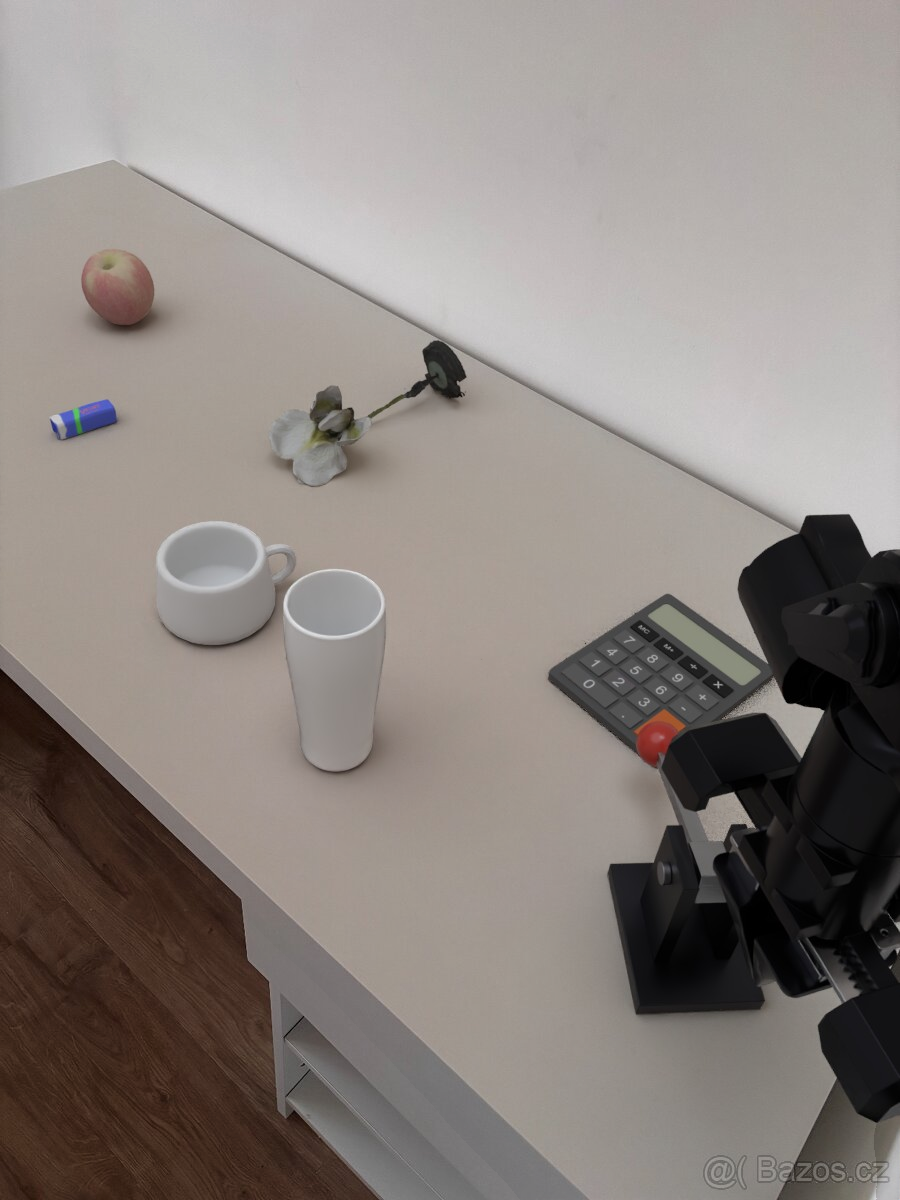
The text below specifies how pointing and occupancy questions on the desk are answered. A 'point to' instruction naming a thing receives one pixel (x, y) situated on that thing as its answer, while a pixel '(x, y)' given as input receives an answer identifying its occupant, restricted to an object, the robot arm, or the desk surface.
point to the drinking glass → (335, 663)
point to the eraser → (83, 419)
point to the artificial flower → (349, 420)
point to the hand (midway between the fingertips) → (762, 978)
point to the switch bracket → (678, 936)
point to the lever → (684, 813)
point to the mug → (217, 582)
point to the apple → (118, 286)
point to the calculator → (660, 671)
